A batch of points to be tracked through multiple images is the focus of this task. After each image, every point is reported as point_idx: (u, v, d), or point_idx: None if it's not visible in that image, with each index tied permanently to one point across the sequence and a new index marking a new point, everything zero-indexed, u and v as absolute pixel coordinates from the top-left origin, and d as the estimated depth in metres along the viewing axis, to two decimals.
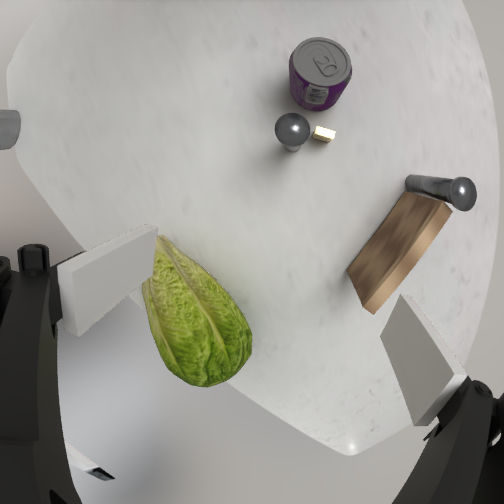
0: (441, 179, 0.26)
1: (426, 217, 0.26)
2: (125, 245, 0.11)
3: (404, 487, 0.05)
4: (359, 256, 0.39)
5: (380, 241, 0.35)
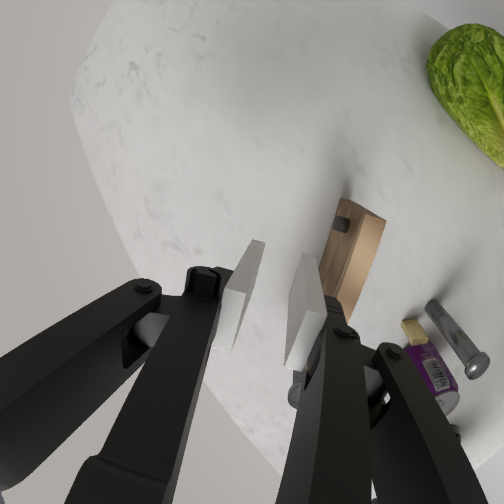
0: None
1: None
2: (258, 262, 0.13)
3: (289, 451, 0.06)
4: None
5: None
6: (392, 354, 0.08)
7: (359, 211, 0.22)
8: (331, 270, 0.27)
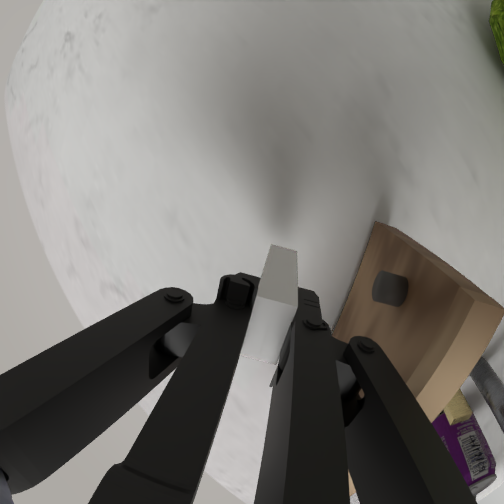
0: None
1: None
2: None
3: (265, 448, 0.06)
4: None
5: None
6: (364, 348, 0.08)
7: (443, 276, 0.08)
8: None
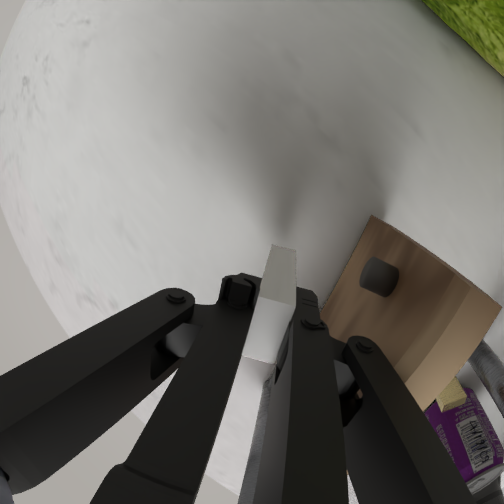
0: None
1: None
2: (282, 268, 0.13)
3: (263, 448, 0.06)
4: None
5: None
6: (362, 348, 0.08)
7: (437, 265, 0.08)
8: None
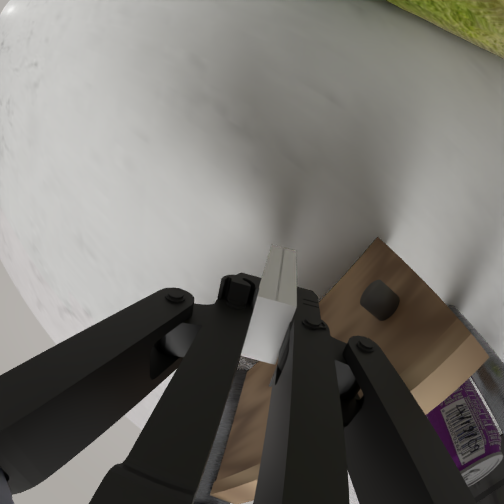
0: None
1: None
2: (282, 268, 0.13)
3: (264, 448, 0.06)
4: None
5: None
6: (363, 348, 0.08)
7: (441, 305, 0.08)
8: None
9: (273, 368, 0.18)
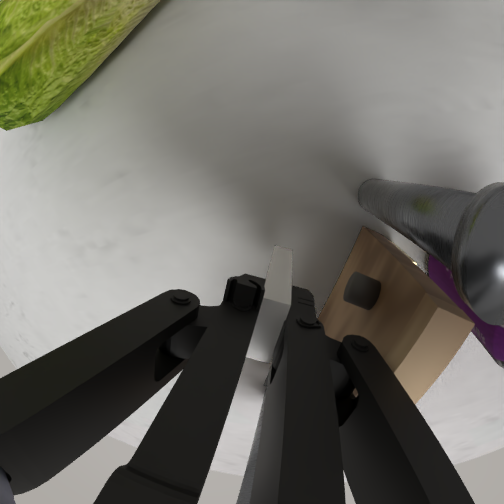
0: None
1: None
2: None
3: (259, 447, 0.06)
4: None
5: None
6: (357, 347, 0.08)
7: (412, 282, 0.08)
8: None
9: None
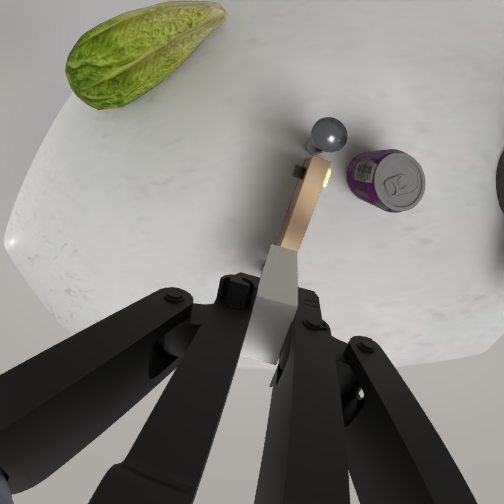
0: None
1: None
2: None
3: (264, 448, 0.06)
4: None
5: None
6: (364, 348, 0.08)
7: (311, 157, 0.27)
8: (290, 211, 0.32)
9: (279, 237, 0.37)
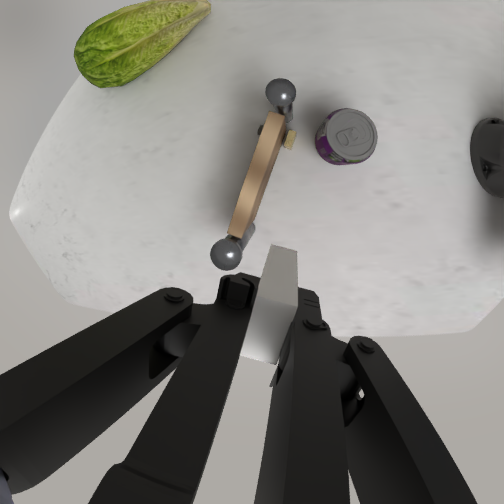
0: (243, 240, 0.36)
1: None
2: None
3: (265, 448, 0.06)
4: None
5: (270, 169, 0.38)
6: (364, 348, 0.08)
7: None
8: None
9: None
